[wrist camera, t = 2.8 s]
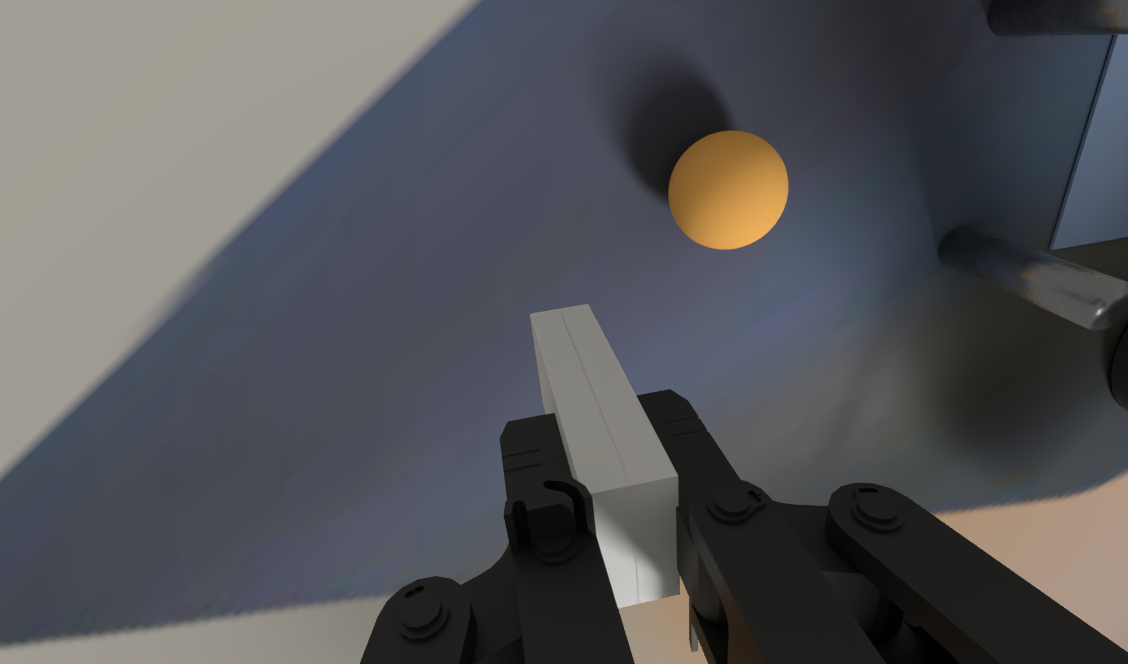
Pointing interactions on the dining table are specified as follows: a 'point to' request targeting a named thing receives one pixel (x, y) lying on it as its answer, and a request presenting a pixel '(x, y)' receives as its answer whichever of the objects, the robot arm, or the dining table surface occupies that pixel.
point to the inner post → (1037, 277)
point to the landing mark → (1100, 163)
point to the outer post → (1058, 17)
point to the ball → (728, 189)
